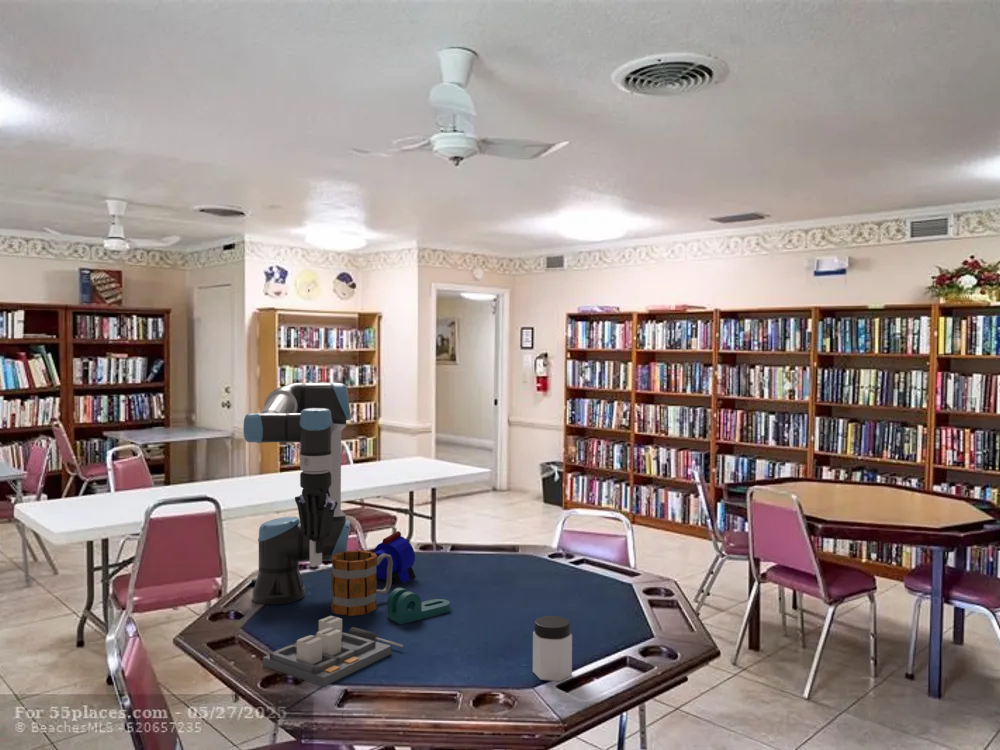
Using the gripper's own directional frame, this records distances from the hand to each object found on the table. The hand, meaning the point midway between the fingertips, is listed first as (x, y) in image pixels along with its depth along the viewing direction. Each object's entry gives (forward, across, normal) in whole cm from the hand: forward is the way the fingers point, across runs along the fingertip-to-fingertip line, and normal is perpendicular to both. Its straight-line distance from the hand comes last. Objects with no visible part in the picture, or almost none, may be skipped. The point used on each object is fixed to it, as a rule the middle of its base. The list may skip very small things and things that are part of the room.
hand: (315, 565), depth 185 cm
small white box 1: (+18, +11, -12) cm, 24 cm away
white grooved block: (+18, +11, -6) cm, 21 cm away
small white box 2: (+18, +5, 0) cm, 19 cm away
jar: (+20, +57, +19) cm, 63 cm away
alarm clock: (+22, -23, +53) cm, 62 cm away
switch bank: (+20, +9, -5) cm, 23 cm away
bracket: (+21, +7, +33) cm, 40 cm away
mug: (+21, -11, +28) cm, 37 cm away
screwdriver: (+20, +12, +9) cm, 25 cm away
